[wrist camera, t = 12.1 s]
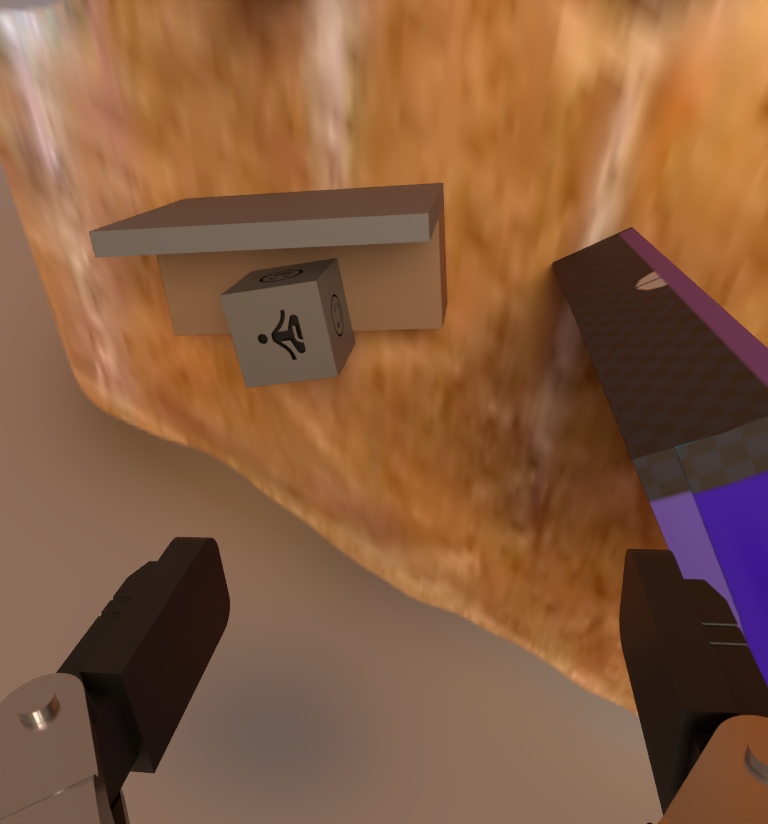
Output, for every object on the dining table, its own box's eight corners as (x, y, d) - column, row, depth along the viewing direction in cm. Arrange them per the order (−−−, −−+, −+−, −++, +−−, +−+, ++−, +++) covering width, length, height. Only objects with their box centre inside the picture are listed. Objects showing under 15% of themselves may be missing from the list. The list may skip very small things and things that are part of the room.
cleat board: (443, 182, 38) (428, 213, 28) (447, 303, 41) (435, 368, 31) (184, 199, 41) (88, 231, 31) (206, 311, 44) (125, 373, 34)
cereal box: (718, 468, 43) (945, 829, 22) (646, 491, 45) (793, 851, 24) (631, 226, 38) (825, 399, 16) (552, 262, 39) (633, 463, 18)
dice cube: (355, 343, 38) (338, 376, 33) (274, 354, 39) (246, 387, 34) (337, 257, 36) (316, 280, 31) (251, 271, 37) (219, 295, 32)
